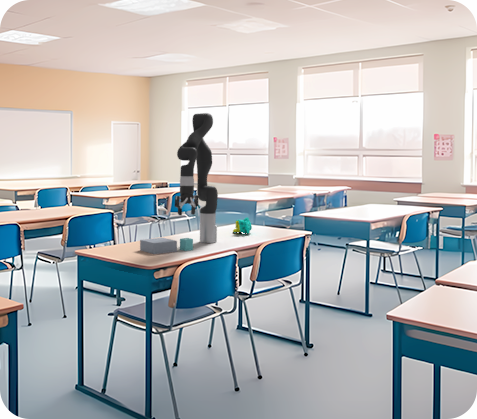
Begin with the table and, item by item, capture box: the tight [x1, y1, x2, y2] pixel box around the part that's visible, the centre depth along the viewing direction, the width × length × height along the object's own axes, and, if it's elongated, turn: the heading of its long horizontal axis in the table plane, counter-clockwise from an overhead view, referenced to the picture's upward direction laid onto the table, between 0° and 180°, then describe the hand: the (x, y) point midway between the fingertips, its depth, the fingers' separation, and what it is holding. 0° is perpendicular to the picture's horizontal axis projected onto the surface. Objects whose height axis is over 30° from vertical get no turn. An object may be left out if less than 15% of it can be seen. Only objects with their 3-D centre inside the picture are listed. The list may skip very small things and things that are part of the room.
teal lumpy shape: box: [232, 217, 253, 234], centre depth 355 cm, size 15×12×13 cm
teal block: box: [179, 237, 194, 252], centre depth 290 cm, size 5×5×6 cm
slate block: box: [139, 237, 178, 255], centre depth 285 cm, size 14×14×6 cm
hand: (186, 214), depth 289 cm, fingers open, 8 cm apart
